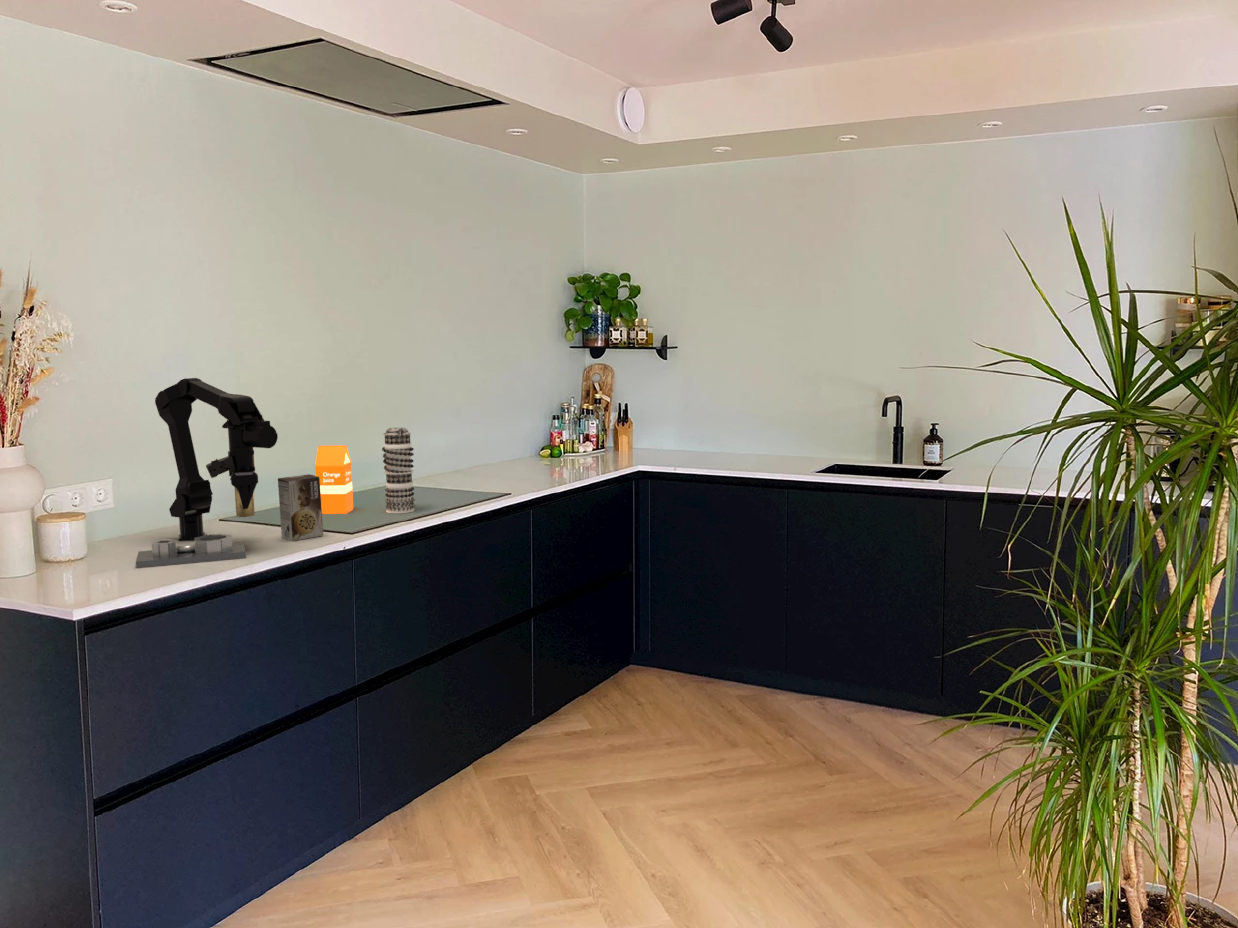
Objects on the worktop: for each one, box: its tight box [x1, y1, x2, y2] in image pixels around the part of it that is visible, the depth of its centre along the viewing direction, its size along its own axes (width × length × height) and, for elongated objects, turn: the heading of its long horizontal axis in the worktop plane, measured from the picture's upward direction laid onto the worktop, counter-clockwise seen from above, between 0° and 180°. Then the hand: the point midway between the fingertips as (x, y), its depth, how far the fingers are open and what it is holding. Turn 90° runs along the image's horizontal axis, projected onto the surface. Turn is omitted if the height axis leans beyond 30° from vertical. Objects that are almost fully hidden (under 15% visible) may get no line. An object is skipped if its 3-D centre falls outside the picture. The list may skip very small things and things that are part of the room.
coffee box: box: [277, 473, 324, 542], centre depth 269 cm, size 9×6×16 cm
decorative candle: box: [381, 427, 416, 515], centre depth 305 cm, size 9×9×25 cm
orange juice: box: [314, 445, 354, 515], centre depth 306 cm, size 8×9×20 cm
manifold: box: [135, 533, 247, 569], centre depth 247 cm, size 12×24×4 cm, turn 113°
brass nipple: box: [234, 487, 256, 518], centre depth 259 cm, size 4×4×8 cm
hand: (245, 507), depth 259 cm, fingers closed on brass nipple, 4 cm apart
